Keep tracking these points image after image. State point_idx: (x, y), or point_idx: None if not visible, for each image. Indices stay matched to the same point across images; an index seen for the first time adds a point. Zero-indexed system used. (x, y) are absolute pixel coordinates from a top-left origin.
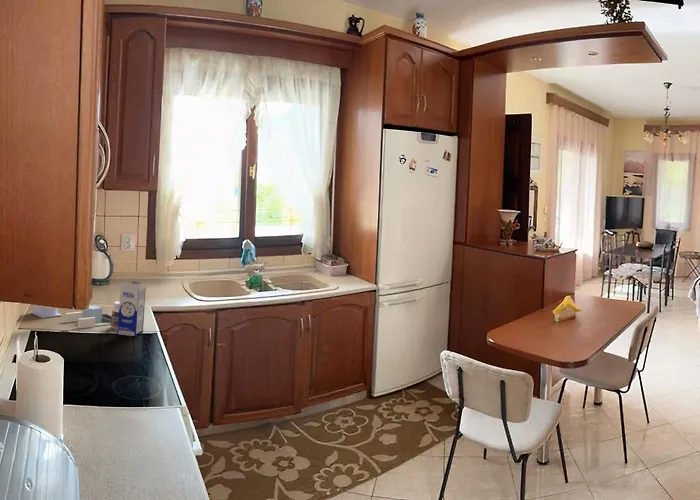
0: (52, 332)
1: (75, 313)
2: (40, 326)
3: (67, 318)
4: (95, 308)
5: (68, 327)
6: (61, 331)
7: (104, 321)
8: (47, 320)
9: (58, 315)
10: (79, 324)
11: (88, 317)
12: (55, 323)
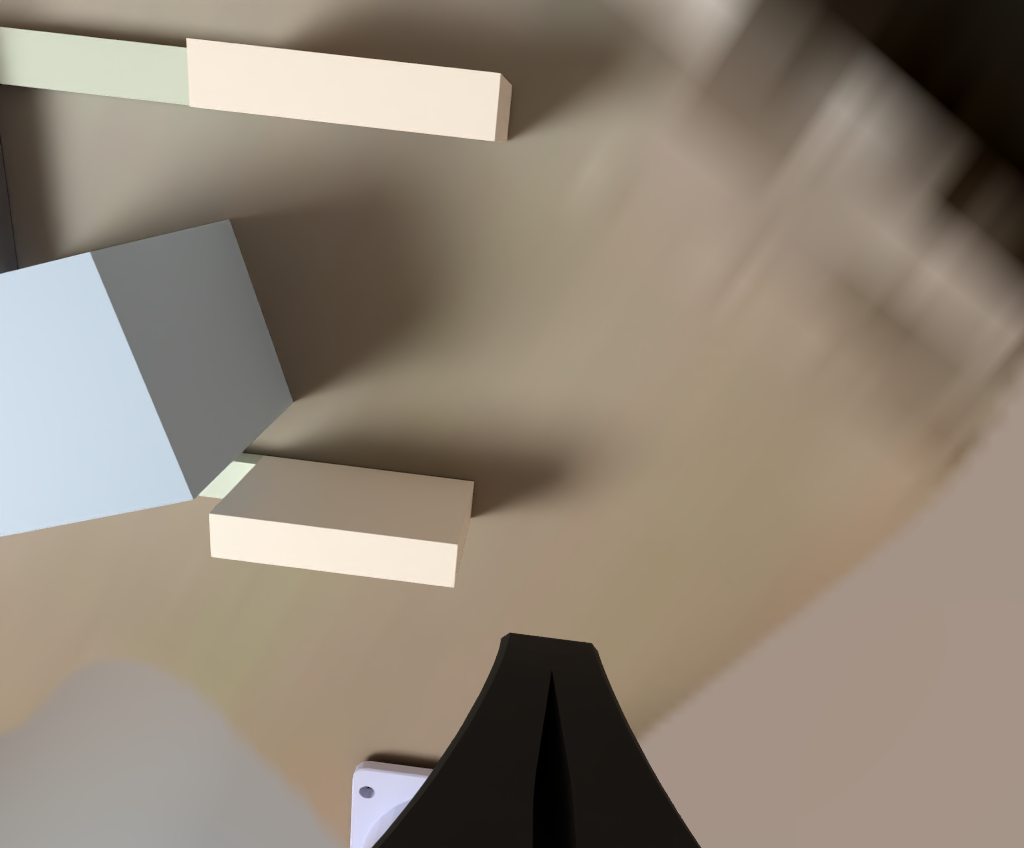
0: (961, 103)
1: (325, 524)
2: (846, 492)
3: (459, 507)
4: (9, 300)
5: (599, 244)
6: (824, 80)
7: (9, 240)
8: None
9: (398, 769)
10: (506, 87)
11: (215, 313)
12: (608, 522)
